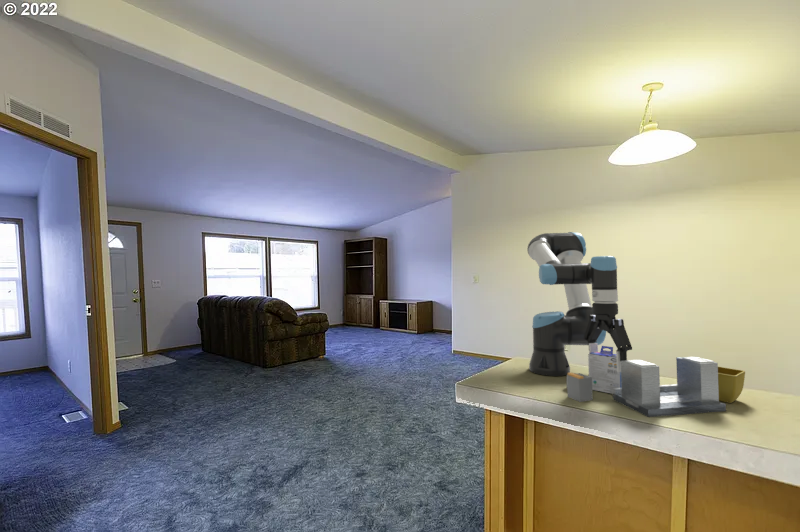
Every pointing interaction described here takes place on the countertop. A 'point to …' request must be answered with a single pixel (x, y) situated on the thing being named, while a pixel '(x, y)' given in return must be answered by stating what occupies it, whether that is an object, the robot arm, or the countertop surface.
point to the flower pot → (730, 384)
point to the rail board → (670, 388)
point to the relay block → (579, 387)
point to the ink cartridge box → (604, 370)
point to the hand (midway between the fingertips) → (607, 366)
